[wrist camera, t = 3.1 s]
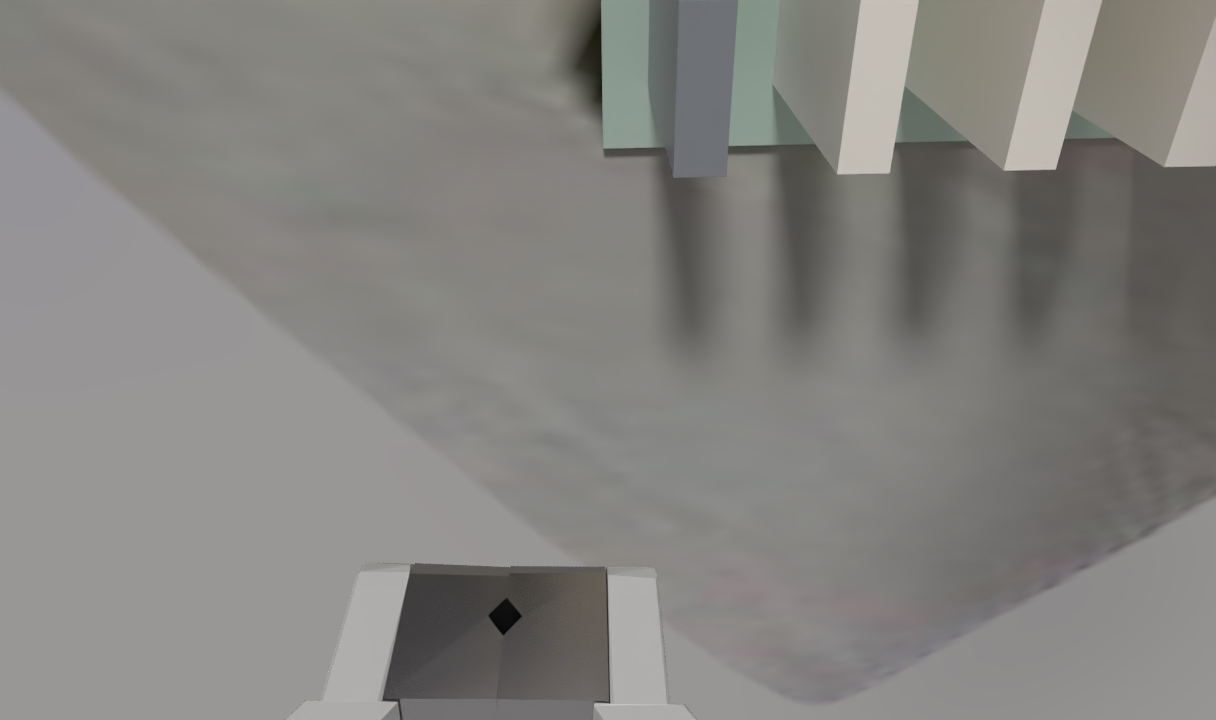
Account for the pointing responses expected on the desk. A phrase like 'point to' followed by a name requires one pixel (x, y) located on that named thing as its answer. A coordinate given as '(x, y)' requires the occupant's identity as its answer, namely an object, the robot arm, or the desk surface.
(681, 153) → the domino
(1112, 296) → the desk surface
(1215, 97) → the domino
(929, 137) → the mat
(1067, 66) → the domino
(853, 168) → the domino
